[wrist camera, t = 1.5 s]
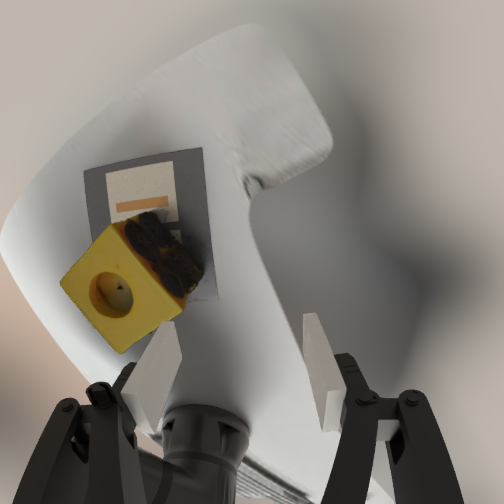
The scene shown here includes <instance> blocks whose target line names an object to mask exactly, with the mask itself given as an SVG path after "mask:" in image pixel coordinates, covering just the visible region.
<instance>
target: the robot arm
mask: <svg viewBox="0 0 504 504" xmlns="http://www.w3.org/2000/svg"><path fill="white" fill-rule="evenodd" d="M303 354H304V358H305V362H306V366H307V370H308V374H309V379H310V383H311V387H312V391H313V395H314V399H315V403H316V408H317V412H318V416H319V420H320V425H321V429H322V432H329V431H335V430H339V427H340V423H341V427H342V434H341V438H340V442H339V446H338V449H337V453H336V457H335V460H334V464H333V467H332V471H331V474H330V477H329V480H328V483H327V487H326V490H325V493H324V496H323V498H322V501H321V504H365V501H366V496H367V492H368V487H369V482H370V477H371V471H372V466H373V459H374V453H375V446H376V441H385V443H386V448H387V453H388V458H389V464H390V469H391V475H392V481H393V487H394V494H395V501H396V504H464V501H463V498H462V494H461V490H460V487H459V484H458V480H457V477H456V474H455V471H454V468H453V465H452V462H451V459H450V456H449V453H448V450H447V447H446V445H445V442H444V440H443V437H442V434H441V432H440V429H439V426H438V424H437V421H436V419H435V416H434V414H433V412H432V409H431V407H430V404H429V402H428V400H427V398H426V396H425V395H424V393H422V392H420V391H418V390H406V391H404V392H402V393H401V394H400V395H399V397H398V398H381V397H379V396H378V394H377V393H375V392H374V391H372V390H370V389H369V387H368V385H367V383H366V381H365V379H364V377H363V375H362V373H361V371H360V369H359V367H358V365H357V363H356V361H355V359H354V357H352V356H351V355H350V354H348V353H343V354H336V355H333V353H332V350H331V348H330V345H329V343H328V340H327V338H326V336H325V333H324V331H323V328H322V326H321V324H320V321H319V319H318V317H317V314H316V313H308V314H303ZM182 358H183V357H182V353H181V349H180V345H179V341H178V337H177V333H176V328H175V324H174V321H162V323H161V324H160V326H159V327H158V329H157V331H156V332H155V334H154V336H153V337H152V339H151V341H150V342H149V344H148V346H147V347H146V349H145V351H144V353H143V354H142V356H141V358H140V359H139V361H138V363H135V362H130V363H129V364H128V365H127V366H125V367H124V368H123V370H122V372H121V373H120V375H119V376H118V378H117V380H116V381H115V383H114V384H113V386H112V387H111V385H109V384H108V383H106V382H97V383H94V384H92V385H90V386H89V387H88V388H87V389H86V394H87V396H88V398H89V400H90V402H91V403H92V405H80V404H79V403H78V401H77V400H76V399H74V398H65V399H63V400H61V401H60V402H59V403H58V404H57V405H56V407H55V409H54V411H53V413H52V415H51V417H50V419H49V421H48V423H47V425H46V427H45V429H44V431H43V433H42V435H41V437H40V439H39V441H38V443H37V445H36V447H35V449H34V452H33V454H32V456H31V458H30V460H29V463H28V465H27V467H26V470H25V472H24V475H23V477H22V479H21V482H20V484H19V487H18V489H17V492H16V495H15V497H14V500H13V503H12V504H235V496H236V476H237V469H238V467H239V465H240V463H241V461H242V459H243V457H244V455H245V453H246V451H247V449H248V446H249V430H248V428H247V426H246V425H245V423H244V422H243V421H242V420H241V419H239V418H238V417H237V416H235V415H233V414H231V413H229V412H227V411H225V410H222V409H219V408H215V407H211V406H205V405H186V406H181V407H177V408H175V409H173V410H171V411H170V412H169V413H168V414H167V415H166V416H165V419H164V422H163V425H162V429H161V433H162V443H163V452H164V458H163V459H161V458H160V457H158V456H156V455H154V454H152V453H150V452H148V451H146V450H144V449H142V448H140V447H138V446H137V437H136V434H135V432H134V429H135V427H136V425H137V427H138V429H139V431H140V432H142V433H148V434H155V432H156V429H157V426H158V423H159V420H160V418H161V415H162V412H163V409H164V406H165V404H166V401H167V398H168V395H169V393H170V390H171V387H172V385H173V382H174V379H175V377H176V374H177V371H178V369H179V366H180V363H181V361H182Z"/></svg>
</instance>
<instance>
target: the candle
mask: <svg viewBox="0 0 504 504" xmlns="http://www.w3.org/2000/svg"><path fill="white" fill-rule="evenodd" d="M203 276H204V271H202V270H200V269H199V267H198V265H197V264H196V263H195V262H194V261H193V259H192V257H191V256H190V255H189V254H188V253H187V252H186V251H185V249H184V248H183V247H182V245H181V244H180V243H179V242H178V241H177V240H176V239H175V237H174V236H173V235H172V234H171V233H170V231H168V230H167V229H166V228H165V226H164V225H163V224H162V223H161V222H160V221H159V219H158V217H157V215H156V214H155V213H153V212H152V211H148V212H147V211H145V212H143V213H140V214H138V215H135V216H133V217H131V218H127V219H126V220H125V221H123V220H122V221H120V222H115V223H112V224H110V225H109V226H108V227H107V228H106V229H105V230H104V231H103V232H102V233H101V234H100V235H99V237H98V238H97V239H96V240H95V241H94V242H93V244H92V245H91V246H90V248H89V249H88V250H87V251H86V252H85V254H84V255H83V256H82V257H81V258H80V259H79V260H78V261H77V262H76V263H75V264H74V265H73V266H72V268H71V269H70V270H69V271H68V272H67V274H66V275H65V276H64V277H63V278H62V280H61V281H60V285H61V287H62V288H63V290H64V291H65V292H66V294H67V295H68V296H69V297H70V298H71V300H72V301H73V302H74V303H75V304H76V305H77V307H78V308H79V309H80V310H81V312H82V313H83V314H84V315H85V316H86V318H87V319H88V320H89V321H90V322H91V323H92V325H93V326H94V327H95V328H96V329H97V330H98V331H99V332H100V334H101V335H102V336H103V337H104V338H105V340H106V341H107V342H108V343H109V344H110V345H111V346H112V348H113V349H114V350H115V351H116V352H117V353H118V354H123V353H124V352H125V351H126V350H127V349H128V348H129V347H130V346H131V345H132V344H133V343H135V342H137V341H139V340H140V339H141V338H143V337H144V336H146V335H147V334H151V333H152V331H153V330H155V329H156V328H158V327H159V326H160V324H161V323H162V321H169V320H171V319H172V318H174V317H176V316H177V315H179V314H180V313H181V312H182V311H183V310H184V308H185V304H186V301H187V299H188V294H191V293H192V291H193V290H195V288H196V287H197V286H198V284H199V282H200V280H201V279H202V278H203Z"/></svg>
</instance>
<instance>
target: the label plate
mask: <svg viewBox="0 0 504 504" xmlns="http://www.w3.org/2000/svg"><path fill="white" fill-rule="evenodd" d="M84 182H85V192H86V201H87V209H88V216H89V223H90V229H91V235H92V241H93V242H94V241H95V240H96V239H97V238H98V237H99V235H100V234H101V233H102V232H103V231H104V230H105V229H106V228H107V227H108V226H109V225H110V224H112V223H115V222H120V221H122V220H123V221H125V220H126V219H127V218H131V217H133V216H135V215H138V214H140V213H143V212H145V211H147V212H148V211H152V212H153V213H155V214H156V215H157V217H158V219H159V221H160V222H161V223H162V224H163V225H164V226H165V228H166V229H167V230H168V231H170V233H171V234H172V235H173V236H174V237H175V239H176V240H177V241H178V242H179V243H180V244H181V245H182V247H183V248H184V249H185V251H186V252H187V253H188V254H189V255H190V256H191V257H192V259H193V261H194V262H195V263H196V264H197V265H198V267H199V269H200V270H202V271H204V276H203V278H202V279H201V280H200V282H199V284H198V286H197V287H196V288H195V290H193V291H192V293H191V294H188V299H187V301H205V300H218V293H217V285H216V278H215V270H214V262H213V253H212V245H211V236H210V227H209V218H208V208H207V198H206V188H205V177H204V165H203V153H202V148H199V149H192V150H185V151H178V152H172V153H166V154H160V155H154V156H149V157H143V158H138V159H133V160H128V161H124V162H119V163H115V164H110V165H106V166H102V167H98V168H94V169H90V170H86V171H84Z"/></svg>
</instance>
